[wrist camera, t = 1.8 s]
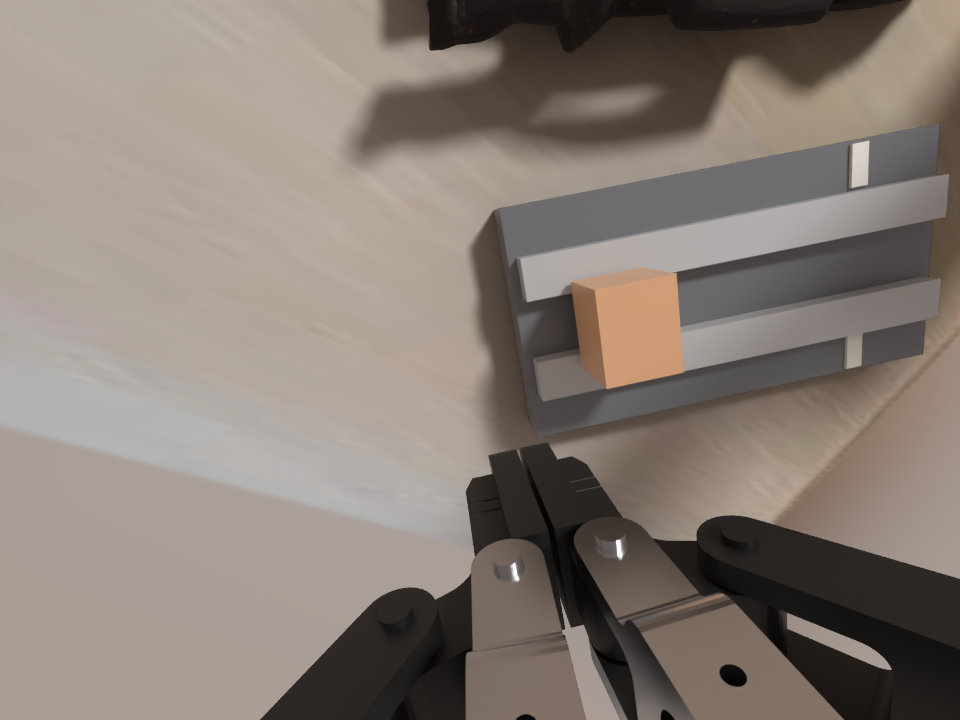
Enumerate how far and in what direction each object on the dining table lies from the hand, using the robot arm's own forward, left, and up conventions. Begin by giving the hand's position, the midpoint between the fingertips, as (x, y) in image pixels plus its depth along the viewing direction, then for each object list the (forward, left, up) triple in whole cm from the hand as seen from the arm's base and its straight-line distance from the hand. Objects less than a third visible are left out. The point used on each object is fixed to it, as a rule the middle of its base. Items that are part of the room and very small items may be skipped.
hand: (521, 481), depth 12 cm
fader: (-8, 0, -16) cm, 18 cm away
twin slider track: (-16, 0, -19) cm, 25 cm away
